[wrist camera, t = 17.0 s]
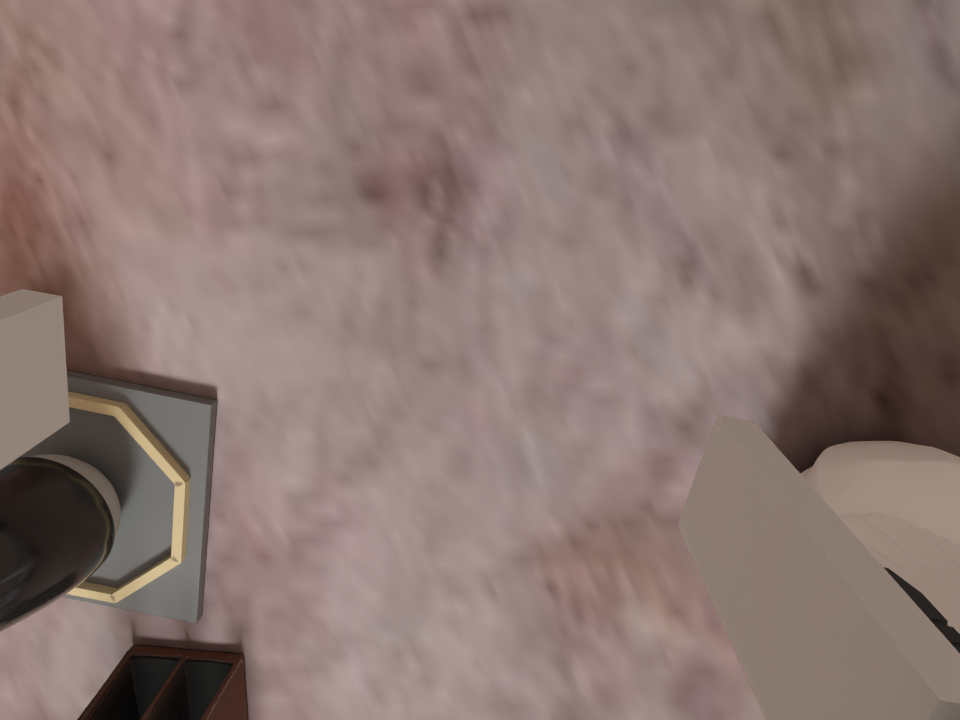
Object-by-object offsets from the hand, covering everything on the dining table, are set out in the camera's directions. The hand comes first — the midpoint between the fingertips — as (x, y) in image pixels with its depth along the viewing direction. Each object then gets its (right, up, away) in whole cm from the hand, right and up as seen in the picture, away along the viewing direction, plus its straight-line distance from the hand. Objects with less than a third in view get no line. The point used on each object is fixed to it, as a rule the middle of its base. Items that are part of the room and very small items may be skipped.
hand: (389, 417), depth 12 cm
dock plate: (-30, -9, +36) cm, 48 cm away
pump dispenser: (-30, -9, +36) cm, 47 cm away
